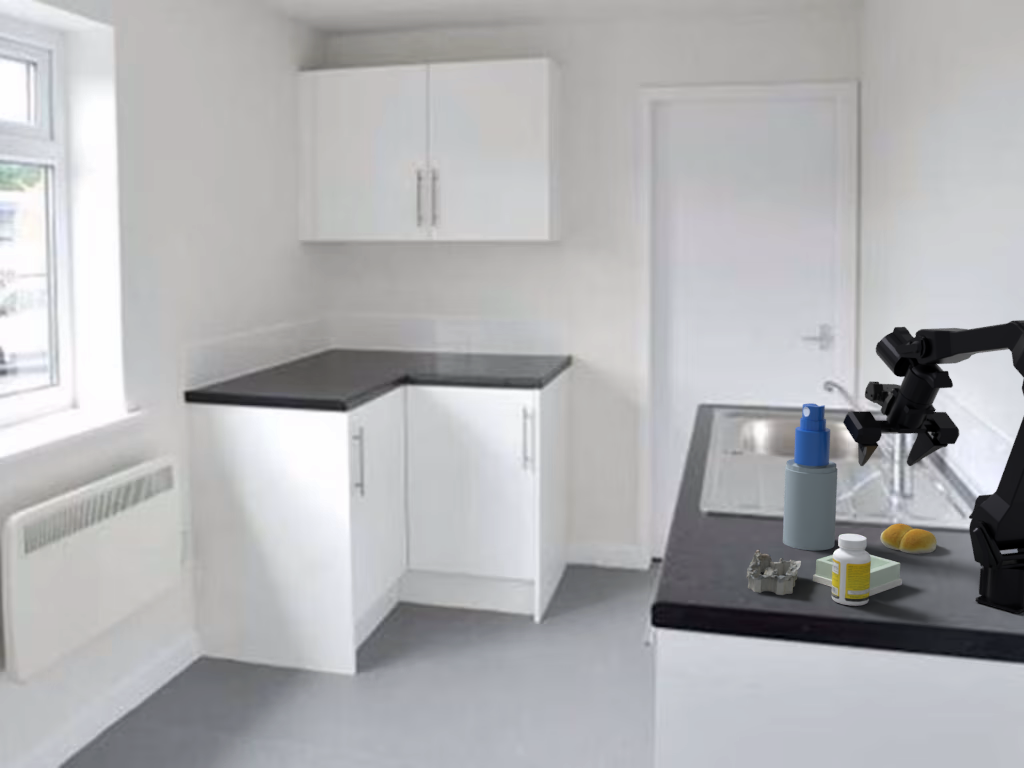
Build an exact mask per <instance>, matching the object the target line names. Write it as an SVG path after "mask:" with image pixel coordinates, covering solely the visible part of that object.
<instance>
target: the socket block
mask: <svg viewBox="0 0 1024 768" xmlns="http://www.w3.org/2000/svg"><path fill="white" fill-rule="evenodd" d="M870 557H871V568H870V593H869V597H871V596H874V595H876V594H880V593H882V592H886V591H888V590H891V589H893V588H897V587H899V586H902V584H903V583H902V582H903V578H902V577H901V576H900V575H901V563H900V562H897V561H894V560H891V559H887V558H884V557H880V556H876V555H873V554H870ZM832 566H833V554H830V555H828V556H824V557H821V558H818V559H816V560H815V574H813V575H812V581H813V582H815V583H818V584H821V585H825V586H828V587H830V588H832ZM900 577H901V578H900Z"/></svg>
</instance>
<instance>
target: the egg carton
mask: <svg viewBox="0 0 1024 768" xmlns="http://www.w3.org/2000/svg"><path fill="white" fill-rule="evenodd" d="M778 560H779V561H778V562H777V561H772V557H771V555H770V554H767V553H762V552H760V549H756V551H754V554H753V555H752V560H751V562H750V563H749V566H748V567H747V569H746V570H747V571H746V579H748V585H747V589H748V590H752V591H753V592H754V593H760V594H761V593H762V592H772V593H775V595H778V596H785V595H787V594H788V595H790V594H793V592H794V591H793V590H794V589H793V588H794V587H795V586H796V580H797V579H798V570H799V568H801V563H802V561H801V560H793V559H791V558H790V560H785V559H784V558H782V557H781V558H779V559H778ZM761 572H762V573H763V574H762V573H761Z"/></svg>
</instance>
